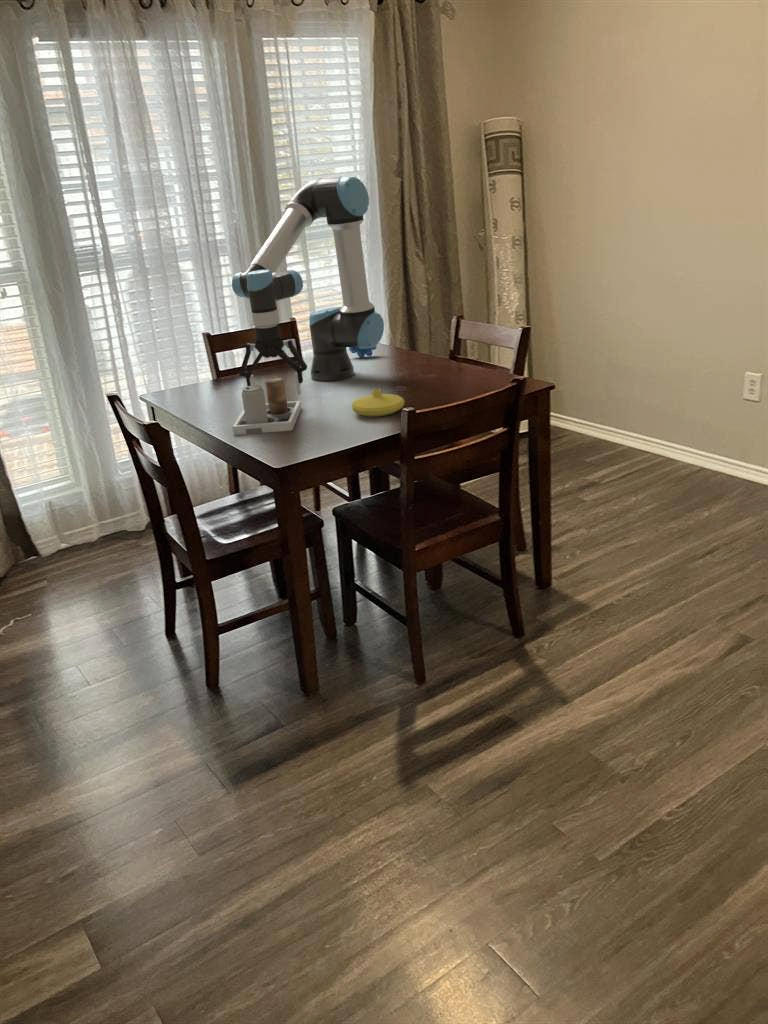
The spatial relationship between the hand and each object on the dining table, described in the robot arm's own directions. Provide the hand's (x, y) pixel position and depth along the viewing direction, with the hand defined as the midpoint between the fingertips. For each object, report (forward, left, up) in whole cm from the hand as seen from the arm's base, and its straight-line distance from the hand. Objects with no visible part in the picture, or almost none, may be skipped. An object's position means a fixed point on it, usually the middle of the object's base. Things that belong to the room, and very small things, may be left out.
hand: (277, 395), depth 260 cm
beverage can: (+5, +10, -6) cm, 13 cm away
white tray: (+3, +5, -6) cm, 8 cm away
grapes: (-21, -69, -6) cm, 72 cm away
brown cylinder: (0, 0, -6) cm, 6 cm away
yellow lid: (-30, +5, -6) cm, 32 cm away
